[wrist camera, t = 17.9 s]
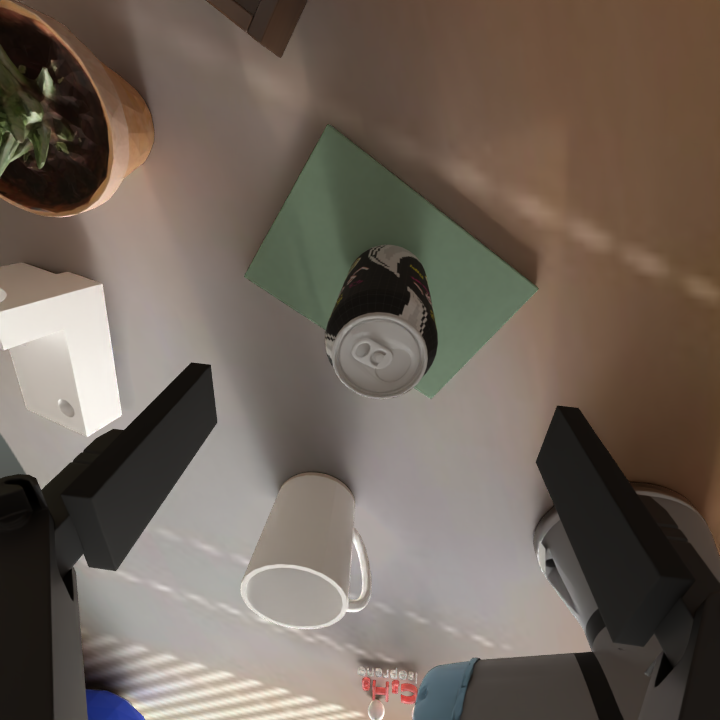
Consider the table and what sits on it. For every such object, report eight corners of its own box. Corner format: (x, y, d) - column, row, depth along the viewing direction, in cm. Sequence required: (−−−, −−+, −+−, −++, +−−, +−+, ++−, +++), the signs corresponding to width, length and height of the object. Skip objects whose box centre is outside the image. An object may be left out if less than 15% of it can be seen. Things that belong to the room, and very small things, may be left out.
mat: (536, 286, 29) (539, 288, 28) (430, 395, 34) (431, 399, 33) (329, 123, 25) (327, 123, 25) (246, 274, 30) (243, 276, 30)
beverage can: (375, 225, 27) (358, 277, 17) (442, 270, 28) (467, 345, 18) (334, 292, 30) (297, 373, 19) (397, 331, 31) (395, 428, 20)
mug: (266, 513, 43) (231, 611, 34) (286, 456, 39) (251, 550, 30) (361, 543, 44) (351, 646, 35) (391, 490, 40) (388, 591, 31)
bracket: (34, 260, 32) (-85, 282, 26) (102, 283, 31) (-8, 313, 24) (64, 390, 39) (-26, 434, 32) (122, 415, 37) (39, 466, 31)
